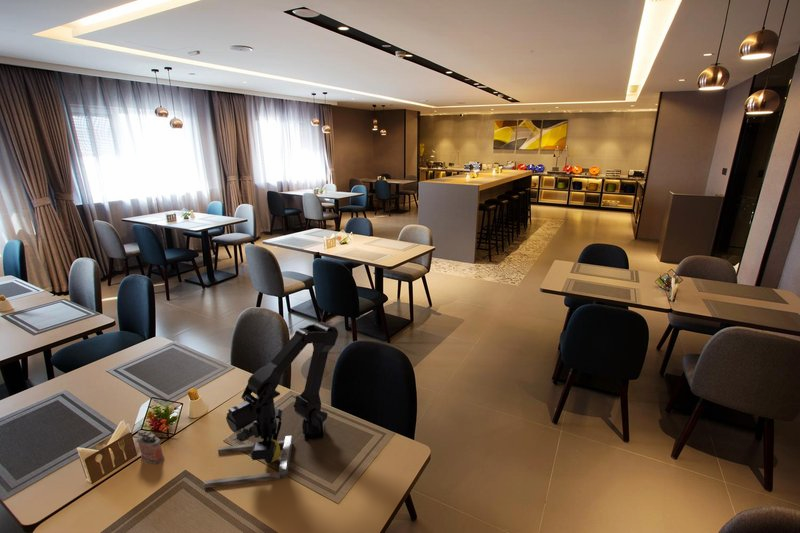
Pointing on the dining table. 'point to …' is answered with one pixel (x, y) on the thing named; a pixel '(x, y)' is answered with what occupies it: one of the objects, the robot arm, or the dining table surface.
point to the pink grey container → (150, 447)
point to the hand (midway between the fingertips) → (271, 455)
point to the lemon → (276, 451)
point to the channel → (259, 477)
